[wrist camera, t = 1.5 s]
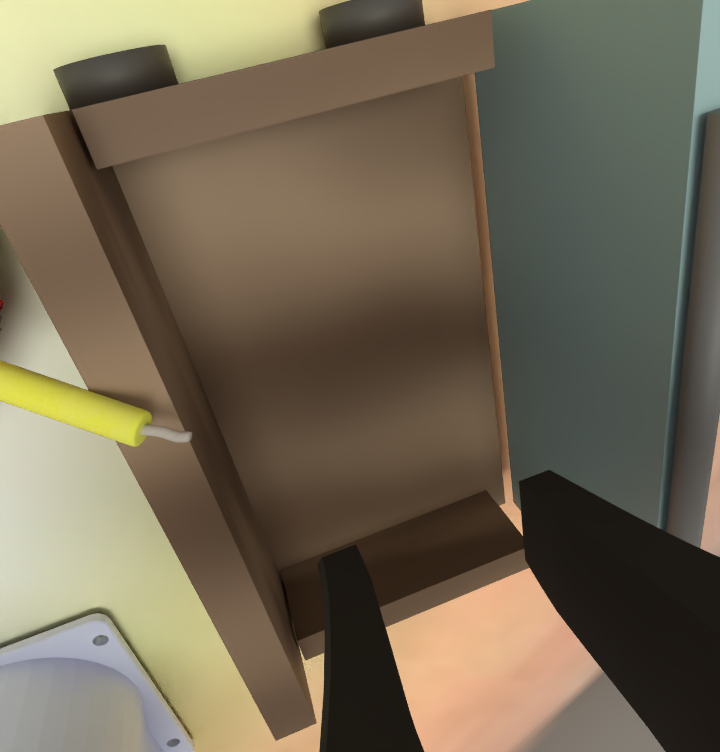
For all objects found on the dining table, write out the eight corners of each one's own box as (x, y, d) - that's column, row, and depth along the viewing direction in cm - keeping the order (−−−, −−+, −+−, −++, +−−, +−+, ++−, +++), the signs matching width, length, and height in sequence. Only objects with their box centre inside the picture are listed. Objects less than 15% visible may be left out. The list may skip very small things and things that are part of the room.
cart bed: (488, 494, 23) (588, 621, 18) (254, 584, 22) (283, 755, 16) (427, -11, 14) (588, -76, 9) (27, 80, 13) (-82, 71, 7)
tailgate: (532, 494, 22) (690, 671, 15) (513, 502, 21) (665, 683, 15) (499, 8, 14) (805, -68, 7) (469, 15, 13) (753, -57, 7)
